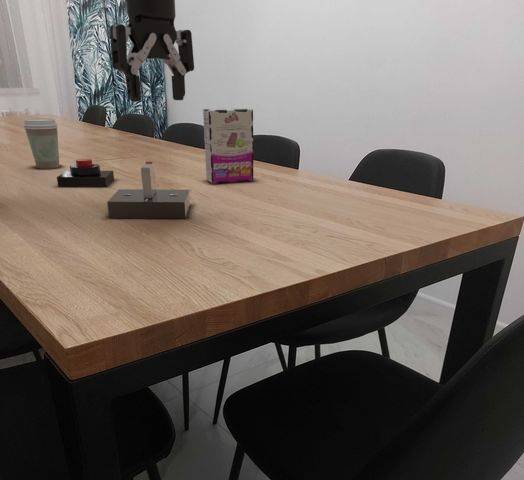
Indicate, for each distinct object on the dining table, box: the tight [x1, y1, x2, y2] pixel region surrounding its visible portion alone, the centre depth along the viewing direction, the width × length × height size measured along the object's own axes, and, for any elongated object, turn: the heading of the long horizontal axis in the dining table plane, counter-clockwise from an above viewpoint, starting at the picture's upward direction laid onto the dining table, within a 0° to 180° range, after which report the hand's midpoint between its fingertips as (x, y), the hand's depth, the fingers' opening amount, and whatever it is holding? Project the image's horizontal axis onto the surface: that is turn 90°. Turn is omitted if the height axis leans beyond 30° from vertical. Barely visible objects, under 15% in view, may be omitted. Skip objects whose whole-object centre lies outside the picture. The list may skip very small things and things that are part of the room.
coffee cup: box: [23, 117, 60, 170], centre depth 135 cm, size 9×8×12 cm
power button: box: [75, 157, 94, 167], centre depth 118 cm, size 4×4×2 cm
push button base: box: [56, 163, 115, 188], centre depth 119 cm, size 11×9×4 cm
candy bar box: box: [202, 107, 254, 185], centre depth 121 cm, size 11×5×16 cm, turn 114°
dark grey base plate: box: [106, 188, 191, 219], centre depth 97 cm, size 14×11×3 cm
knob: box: [140, 160, 157, 198], centre depth 95 cm, size 6×2×6 cm, turn 3°
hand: (157, 100), depth 84 cm, fingers open, 8 cm apart
